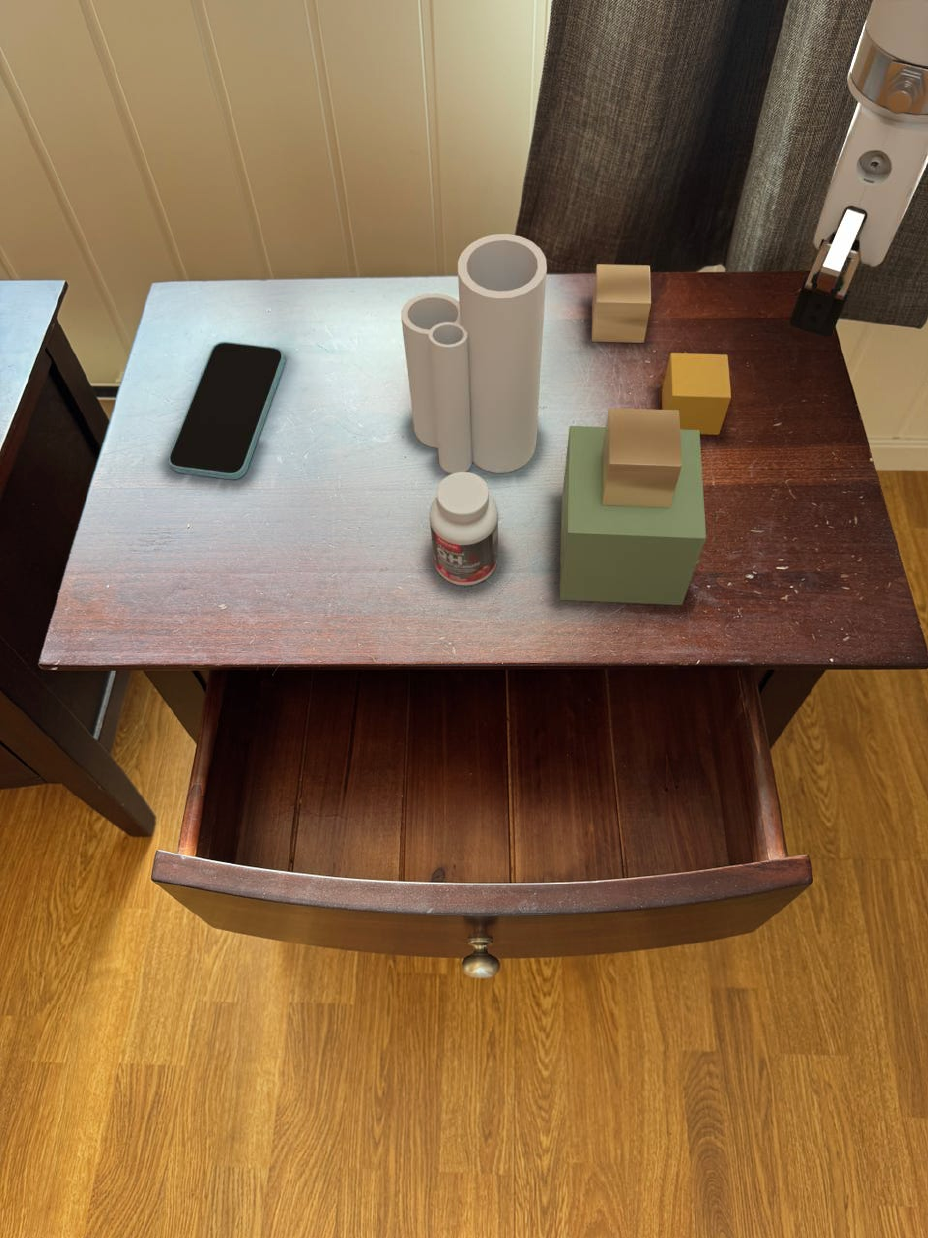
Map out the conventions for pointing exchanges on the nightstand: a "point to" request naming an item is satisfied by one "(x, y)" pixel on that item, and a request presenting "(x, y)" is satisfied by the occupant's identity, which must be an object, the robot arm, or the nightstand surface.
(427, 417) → the vase
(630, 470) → the near maple block
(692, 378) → the mustard block
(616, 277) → the far maple block
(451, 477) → the pill bottle
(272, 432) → the nightstand surface
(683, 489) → the stand
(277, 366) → the smartphone
